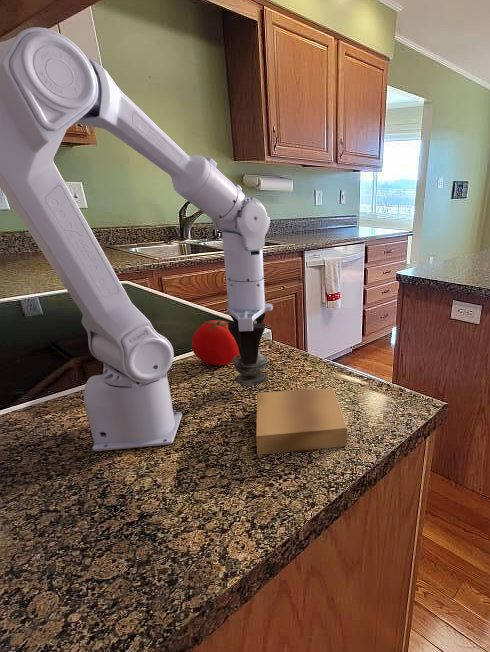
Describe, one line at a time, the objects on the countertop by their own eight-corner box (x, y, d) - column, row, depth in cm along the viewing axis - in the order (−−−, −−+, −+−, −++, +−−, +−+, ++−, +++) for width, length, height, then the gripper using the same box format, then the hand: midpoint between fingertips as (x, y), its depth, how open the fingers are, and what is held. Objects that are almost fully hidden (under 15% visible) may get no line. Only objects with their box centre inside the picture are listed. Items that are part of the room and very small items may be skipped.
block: (257, 455, 52) (256, 436, 51) (258, 409, 63) (257, 392, 62) (346, 446, 55) (347, 427, 54) (332, 403, 66) (333, 387, 64)
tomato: (188, 358, 79) (183, 318, 76) (238, 348, 85) (235, 311, 82) (203, 375, 72) (197, 332, 69) (256, 364, 78) (253, 323, 75)
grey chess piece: (259, 388, 66) (255, 319, 61) (227, 383, 67) (220, 314, 62) (274, 374, 71) (271, 309, 66) (244, 369, 72) (239, 305, 67)
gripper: (272, 288, 57) (275, 374, 62) (270, 269, 69) (273, 342, 75) (220, 288, 55) (228, 377, 60) (227, 269, 68) (233, 343, 73)
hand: (250, 357), depth 67 cm, fingers closed on grey chess piece, 4 cm apart
